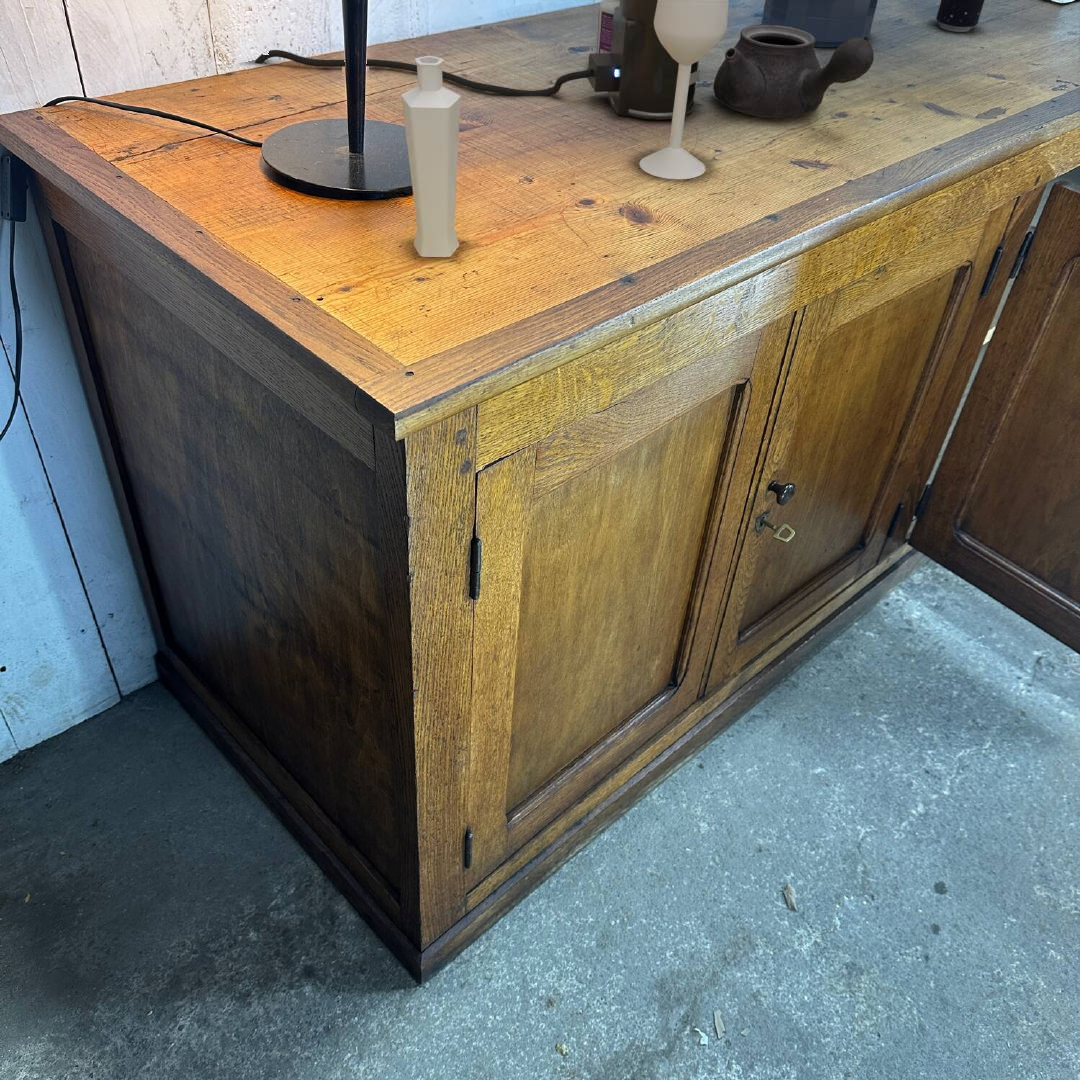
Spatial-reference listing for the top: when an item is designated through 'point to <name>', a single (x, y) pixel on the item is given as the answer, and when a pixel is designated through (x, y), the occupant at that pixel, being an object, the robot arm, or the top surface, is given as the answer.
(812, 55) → the teapot
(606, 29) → the pill bottle
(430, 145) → the beige faceted vase
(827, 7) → the bowl
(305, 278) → the top surface
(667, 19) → the champagne flute
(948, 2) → the beverage can
